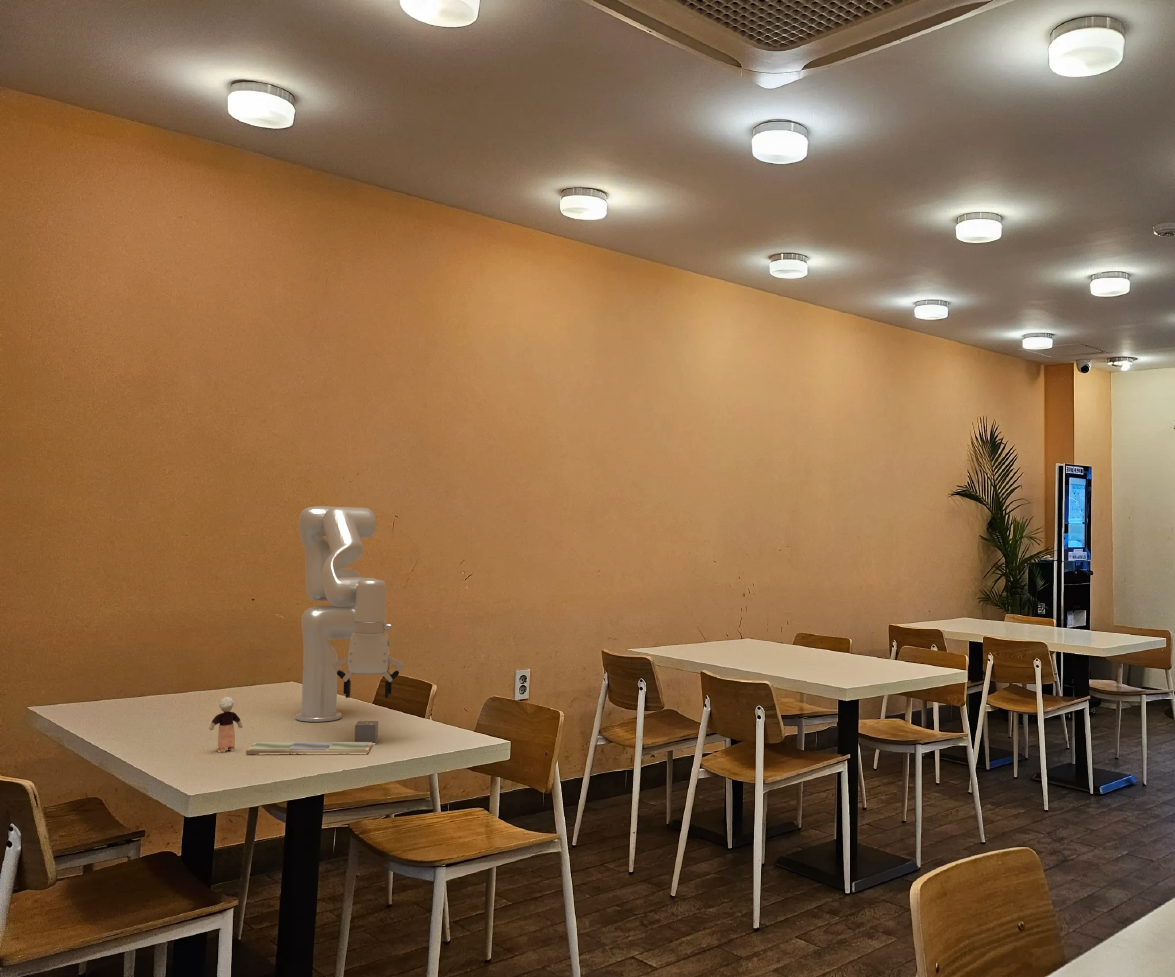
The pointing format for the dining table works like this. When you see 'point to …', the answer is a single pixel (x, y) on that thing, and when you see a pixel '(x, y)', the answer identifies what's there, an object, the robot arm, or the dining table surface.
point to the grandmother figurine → (226, 725)
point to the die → (366, 731)
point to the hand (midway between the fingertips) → (367, 697)
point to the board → (309, 747)
